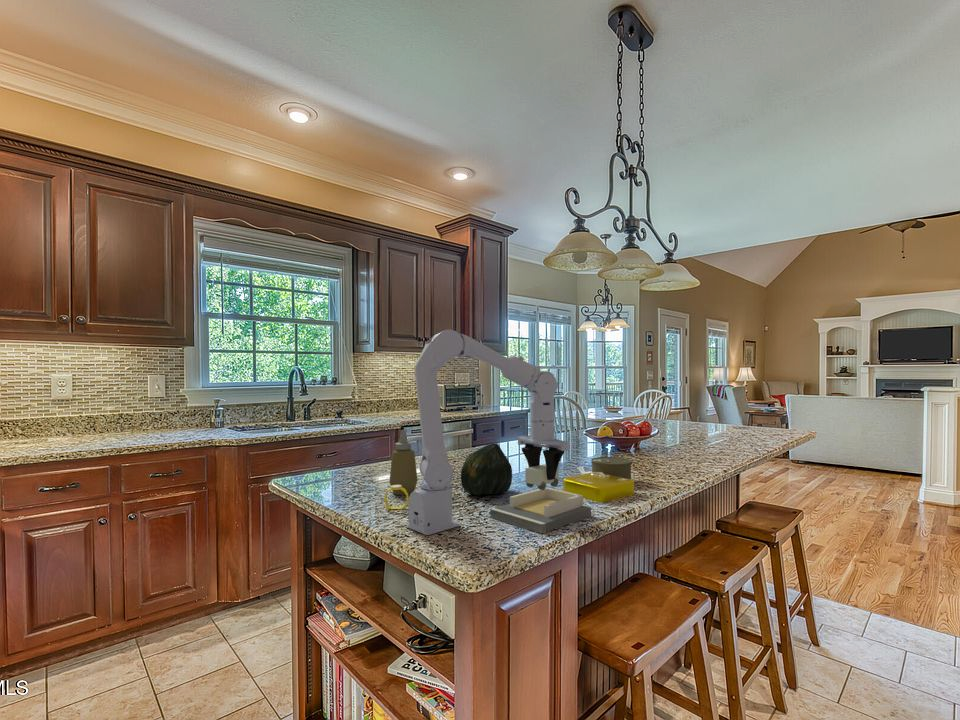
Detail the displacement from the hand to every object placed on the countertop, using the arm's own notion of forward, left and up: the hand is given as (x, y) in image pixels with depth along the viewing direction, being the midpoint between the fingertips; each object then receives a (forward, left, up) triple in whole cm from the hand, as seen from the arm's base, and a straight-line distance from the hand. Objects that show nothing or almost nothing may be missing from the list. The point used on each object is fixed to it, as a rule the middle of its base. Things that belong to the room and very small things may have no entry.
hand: (543, 477), depth 113 cm
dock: (-1, 0, -9) cm, 9 cm away
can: (+42, +8, -9) cm, 43 cm away
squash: (+5, +25, -9) cm, 27 cm away
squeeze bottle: (-12, +42, -9) cm, 45 cm away
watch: (-22, +30, -9) cm, 38 cm away
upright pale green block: (0, 0, -2) cm, 2 cm away
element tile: (+27, +3, -10) cm, 29 cm away
